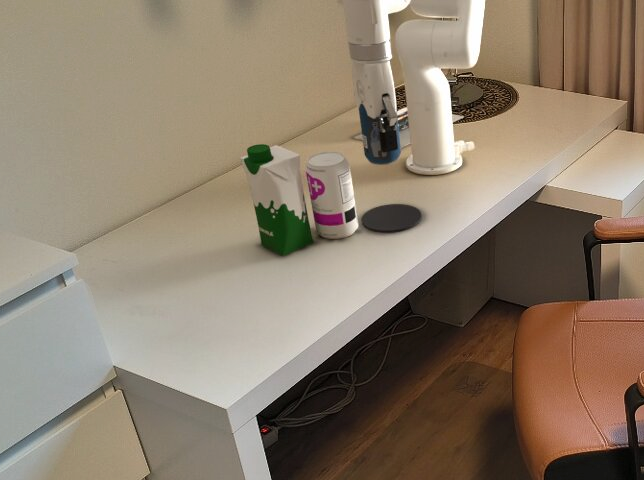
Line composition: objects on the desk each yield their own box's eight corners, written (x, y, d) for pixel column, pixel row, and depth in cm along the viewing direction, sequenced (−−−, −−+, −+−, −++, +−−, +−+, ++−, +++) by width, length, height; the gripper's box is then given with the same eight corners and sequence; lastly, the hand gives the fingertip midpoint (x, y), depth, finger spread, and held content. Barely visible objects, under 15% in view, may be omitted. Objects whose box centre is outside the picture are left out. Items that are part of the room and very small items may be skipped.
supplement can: (327, 244, 173) (315, 171, 165) (309, 229, 179) (296, 157, 171) (366, 232, 177) (355, 160, 169) (347, 217, 183) (336, 147, 175)
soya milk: (254, 245, 174) (232, 146, 163) (294, 229, 179) (275, 132, 168) (281, 259, 169) (261, 158, 158) (321, 242, 174) (303, 143, 163)
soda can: (392, 150, 179) (385, 89, 172) (407, 161, 174) (401, 99, 167) (359, 157, 176) (351, 96, 169) (374, 169, 171) (366, 106, 164)
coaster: (407, 201, 189) (407, 199, 188) (431, 222, 180) (431, 220, 180) (352, 215, 184) (352, 213, 183) (375, 238, 175) (374, 235, 175)
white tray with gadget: (353, 137, 220) (350, 120, 217) (420, 106, 237) (418, 90, 234) (398, 149, 213) (396, 131, 210) (464, 116, 230) (463, 100, 227)
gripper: (334, 42, 168) (347, 134, 178) (368, 65, 155) (380, 163, 165) (371, 36, 171) (382, 127, 181) (409, 57, 158) (418, 154, 168)
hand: (381, 143), depth 173 cm, fingers closed on soda can, 7 cm apart
